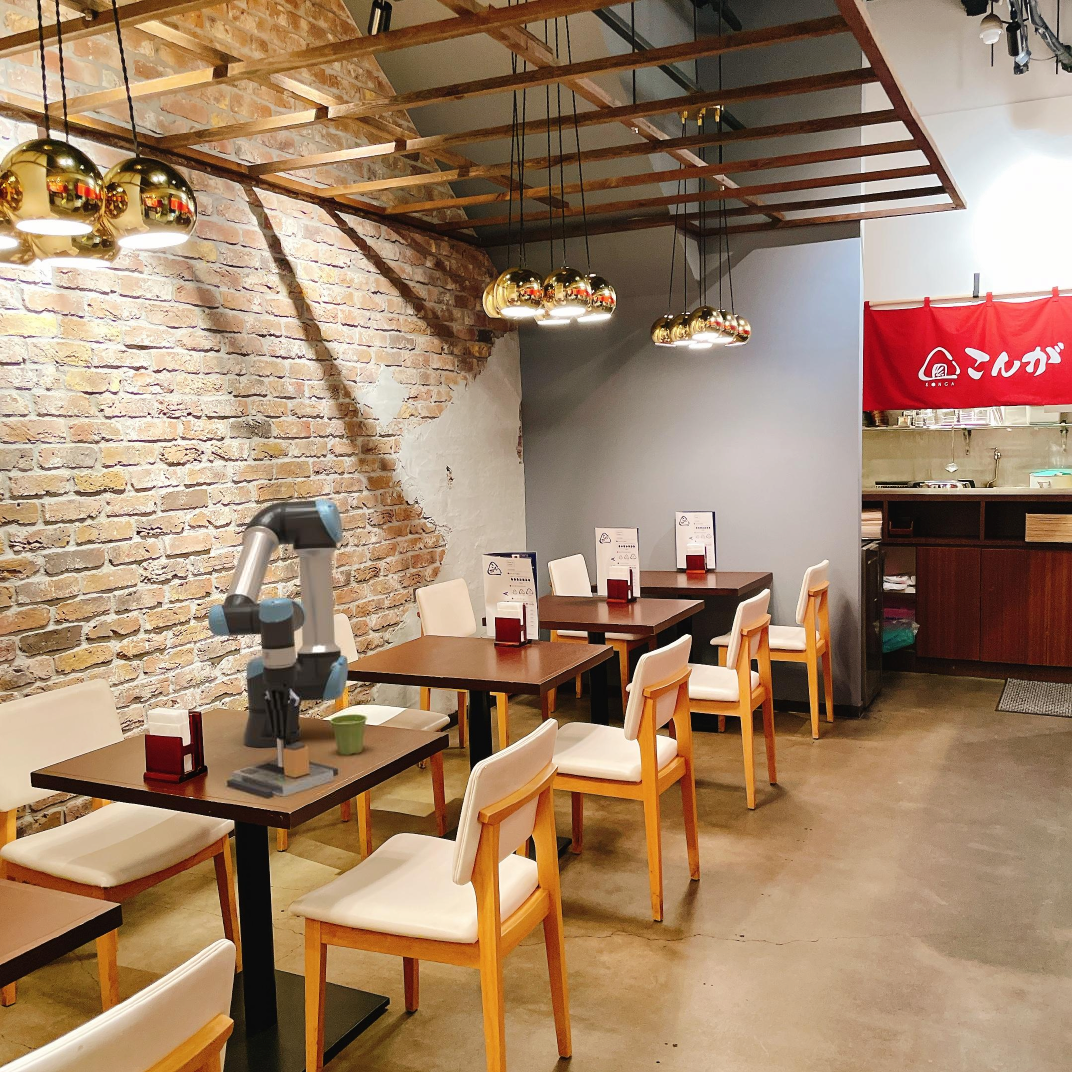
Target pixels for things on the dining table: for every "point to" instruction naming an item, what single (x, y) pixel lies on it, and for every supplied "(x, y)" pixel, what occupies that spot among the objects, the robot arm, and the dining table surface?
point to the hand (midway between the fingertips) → (285, 765)
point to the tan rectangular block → (296, 760)
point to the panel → (282, 778)
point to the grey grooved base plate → (262, 791)
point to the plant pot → (349, 733)
